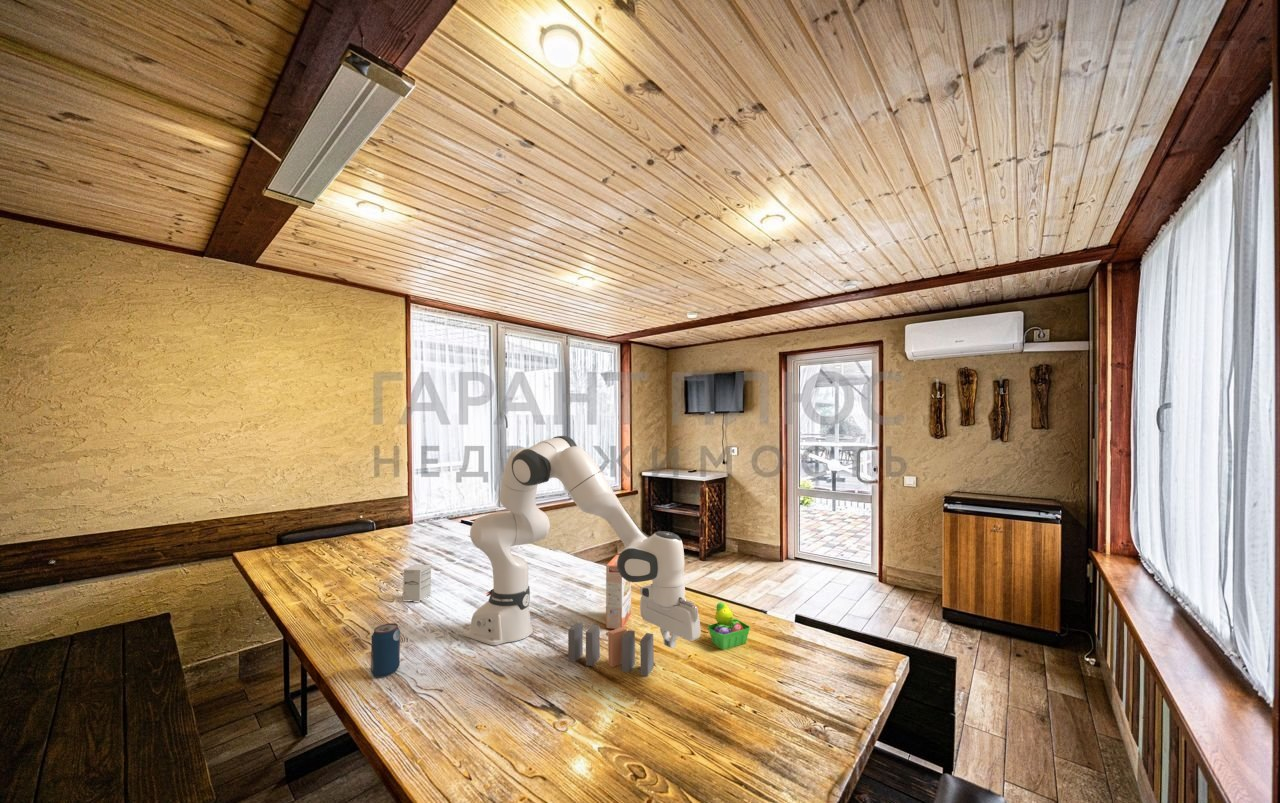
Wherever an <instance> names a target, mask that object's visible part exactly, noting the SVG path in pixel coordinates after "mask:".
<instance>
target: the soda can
mask: <svg viewBox="0 0 1280 803" xmlns="http://www.w3.org/2000/svg"><path fill="white" fill-rule="evenodd" d="M370 643H371V645H370V646H371V649H370V650H371V652H370V654H371V655H370V672H371V674H372V676H374V678H378V679H379V678H382V677H383V678H388V677H390V676H392V675H394V674H395V673H396V672H397V670H398V668H399V667H400V662H401V661H400V660H401V659H400V657H401V656H400V655H401V651H400V650H401V647H400V646H401V630H400V628H399V625H398V624H397V623H395V622H394V623H392V622H390V623H385V624H381V625H377V627H375V628H374V630H373V633H372V635H371V642H370Z"/></svg>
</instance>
